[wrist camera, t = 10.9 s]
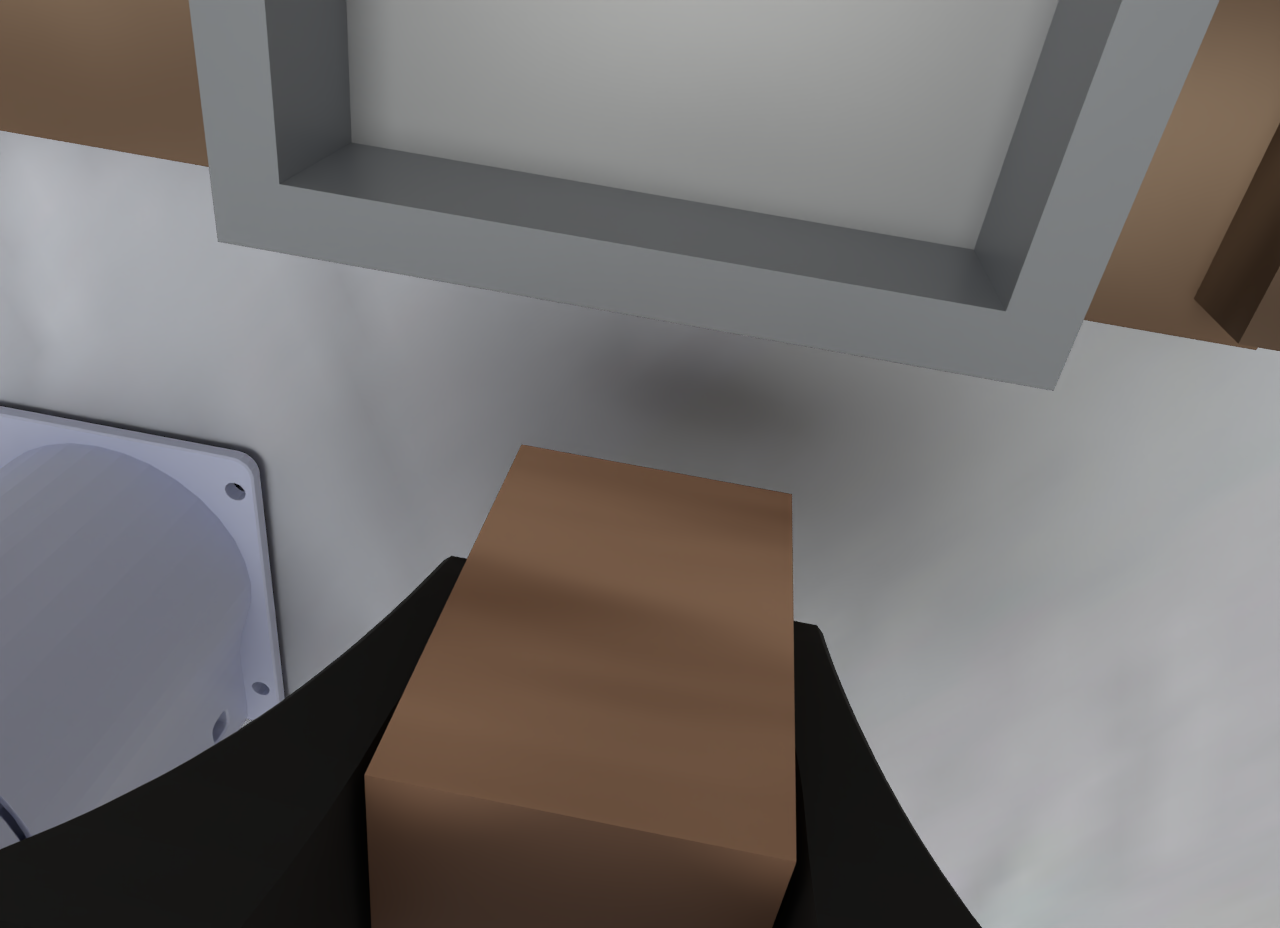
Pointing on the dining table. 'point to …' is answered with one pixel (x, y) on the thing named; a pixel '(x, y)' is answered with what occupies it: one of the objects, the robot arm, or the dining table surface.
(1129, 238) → the board
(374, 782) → the part block
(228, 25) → the tray
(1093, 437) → the dining table surface
